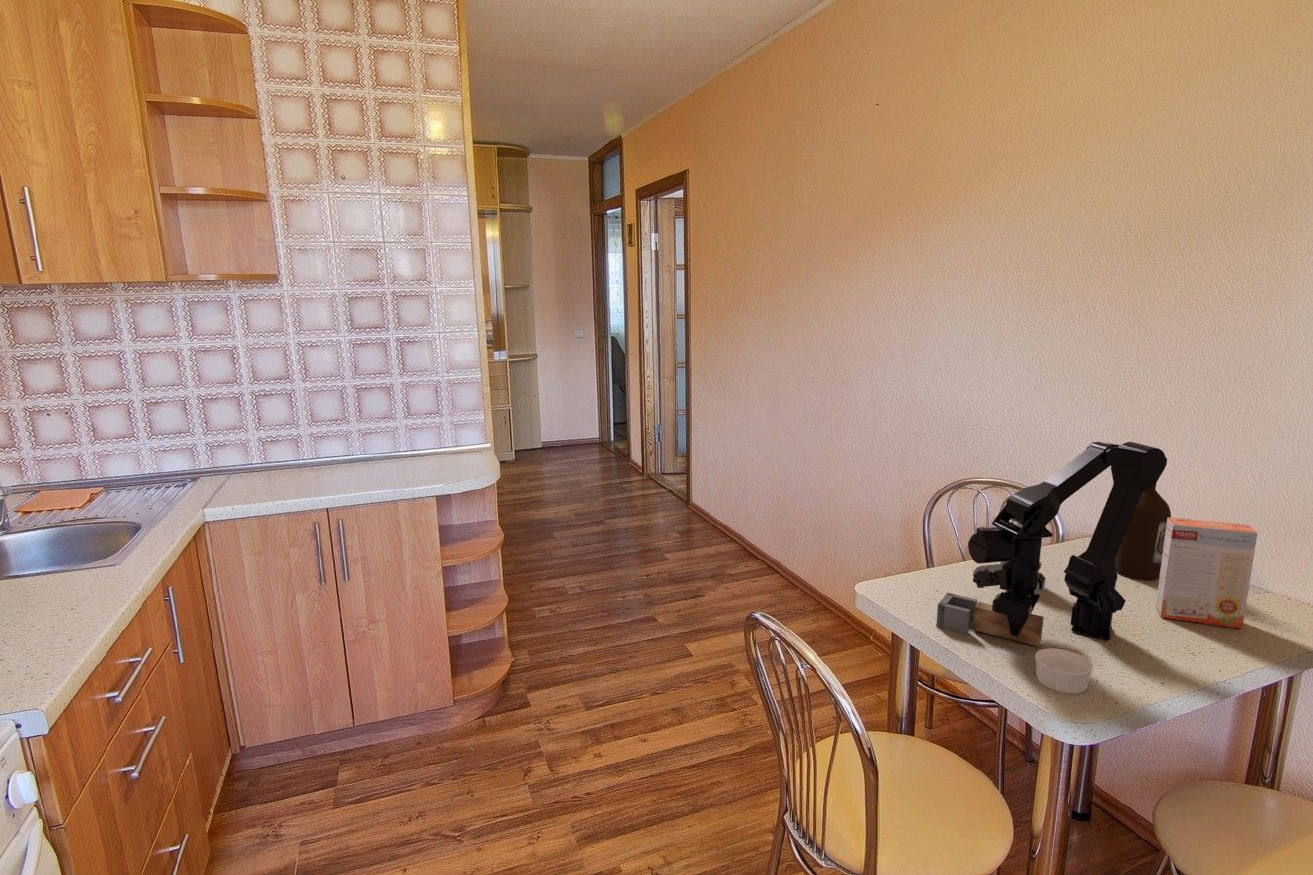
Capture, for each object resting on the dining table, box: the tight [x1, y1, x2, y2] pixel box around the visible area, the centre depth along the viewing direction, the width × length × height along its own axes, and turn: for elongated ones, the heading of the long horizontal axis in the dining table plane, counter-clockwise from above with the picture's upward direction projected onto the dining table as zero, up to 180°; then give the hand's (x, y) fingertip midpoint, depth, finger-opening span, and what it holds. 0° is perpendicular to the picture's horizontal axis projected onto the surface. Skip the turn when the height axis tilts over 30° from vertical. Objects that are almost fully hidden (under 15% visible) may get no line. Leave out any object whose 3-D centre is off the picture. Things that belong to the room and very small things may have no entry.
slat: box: [972, 601, 1044, 647], centre depth 141 cm, size 12×3×5 cm, turn 54°
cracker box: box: [1155, 517, 1258, 630], centre depth 146 cm, size 14×6×21 cm, turn 65°
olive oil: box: [1115, 481, 1172, 581], centre depth 169 cm, size 11×11×25 cm
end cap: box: [935, 592, 978, 635], centre depth 147 cm, size 6×7×5 cm
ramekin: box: [1034, 647, 1094, 695], centre depth 125 cm, size 9×9×4 cm
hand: (1015, 632), depth 140 cm, fingers closed on slat, 3 cm apart
